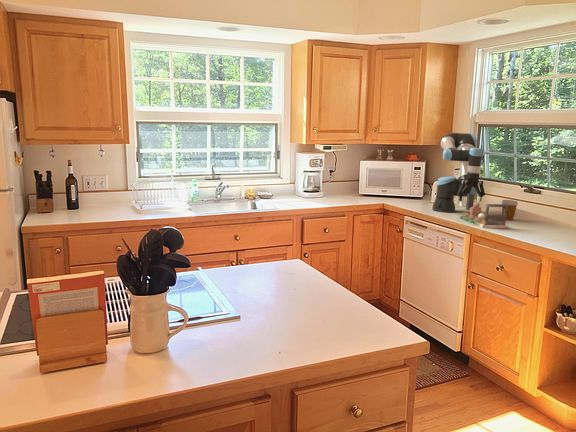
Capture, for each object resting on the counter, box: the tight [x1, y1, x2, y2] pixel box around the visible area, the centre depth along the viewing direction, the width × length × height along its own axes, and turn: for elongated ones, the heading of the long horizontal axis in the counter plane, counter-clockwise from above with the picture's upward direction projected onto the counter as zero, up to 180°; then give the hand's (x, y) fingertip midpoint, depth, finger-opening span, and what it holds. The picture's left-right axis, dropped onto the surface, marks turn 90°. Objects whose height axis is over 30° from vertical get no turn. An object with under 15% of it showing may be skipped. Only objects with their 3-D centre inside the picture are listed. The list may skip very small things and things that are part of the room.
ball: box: [478, 212, 485, 219], centre depth 294 cm, size 4×4×4 cm
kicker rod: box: [465, 194, 482, 217], centre depth 303 cm, size 11×6×13 cm, turn 9°
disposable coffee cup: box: [501, 199, 519, 221], centre depth 306 cm, size 10×10×12 cm
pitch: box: [459, 203, 508, 229], centre depth 291 cm, size 26×16×14 cm, turn 9°
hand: (469, 206), depth 307 cm, fingers open, 11 cm apart
